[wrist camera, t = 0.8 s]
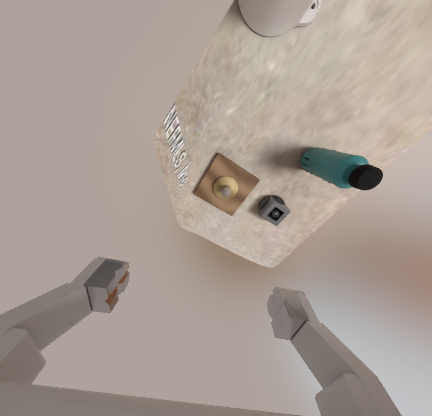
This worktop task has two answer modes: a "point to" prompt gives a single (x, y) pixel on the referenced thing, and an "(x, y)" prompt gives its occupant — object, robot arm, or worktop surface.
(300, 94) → the worktop surface
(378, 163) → the worktop surface
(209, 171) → the brown square board
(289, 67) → the worktop surface
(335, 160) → the beverage bottle
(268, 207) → the square metal tube
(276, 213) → the stand
